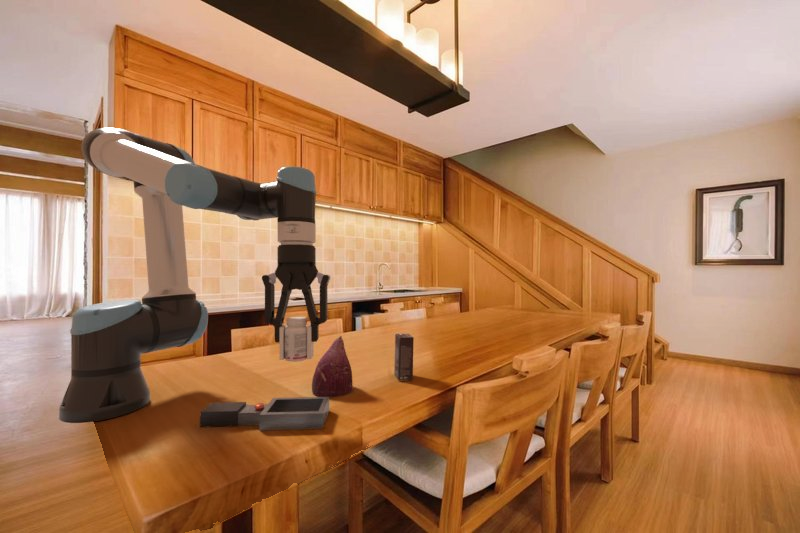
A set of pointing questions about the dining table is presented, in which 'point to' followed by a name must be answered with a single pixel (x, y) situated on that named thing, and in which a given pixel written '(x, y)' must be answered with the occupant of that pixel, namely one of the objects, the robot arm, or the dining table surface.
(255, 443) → the dining table surface
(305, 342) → the pill bottle
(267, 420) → the shallow gray tray
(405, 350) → the box
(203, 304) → the robot arm
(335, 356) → the vegetable
